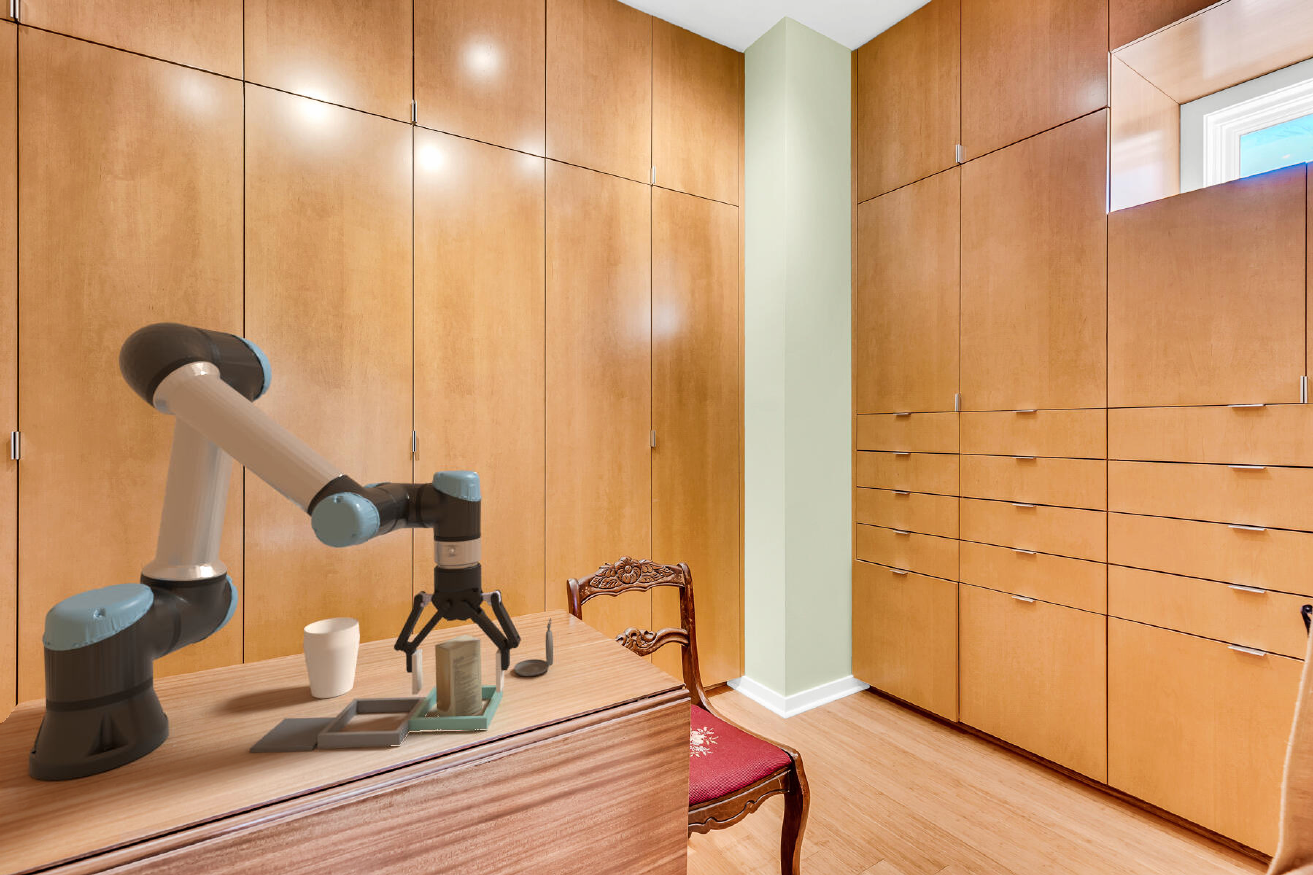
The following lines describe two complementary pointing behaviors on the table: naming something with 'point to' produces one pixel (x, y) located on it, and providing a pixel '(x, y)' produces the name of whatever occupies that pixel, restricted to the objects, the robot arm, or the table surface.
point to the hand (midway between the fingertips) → (458, 689)
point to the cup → (331, 655)
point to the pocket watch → (537, 665)
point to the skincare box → (458, 676)
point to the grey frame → (337, 739)
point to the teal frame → (457, 722)
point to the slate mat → (292, 735)
